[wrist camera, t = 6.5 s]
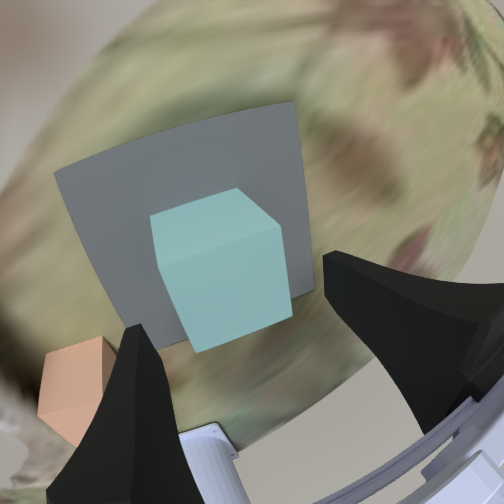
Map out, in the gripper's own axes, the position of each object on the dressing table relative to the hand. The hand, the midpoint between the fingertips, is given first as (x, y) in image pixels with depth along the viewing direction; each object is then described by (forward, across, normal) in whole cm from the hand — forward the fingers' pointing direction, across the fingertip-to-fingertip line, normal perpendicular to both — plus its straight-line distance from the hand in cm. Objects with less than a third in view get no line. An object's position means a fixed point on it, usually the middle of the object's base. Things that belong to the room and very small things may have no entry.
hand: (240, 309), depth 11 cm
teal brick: (+6, 0, 0) cm, 6 cm away
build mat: (+6, 0, 0) cm, 6 cm away
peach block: (+6, +10, +6) cm, 13 cm away
